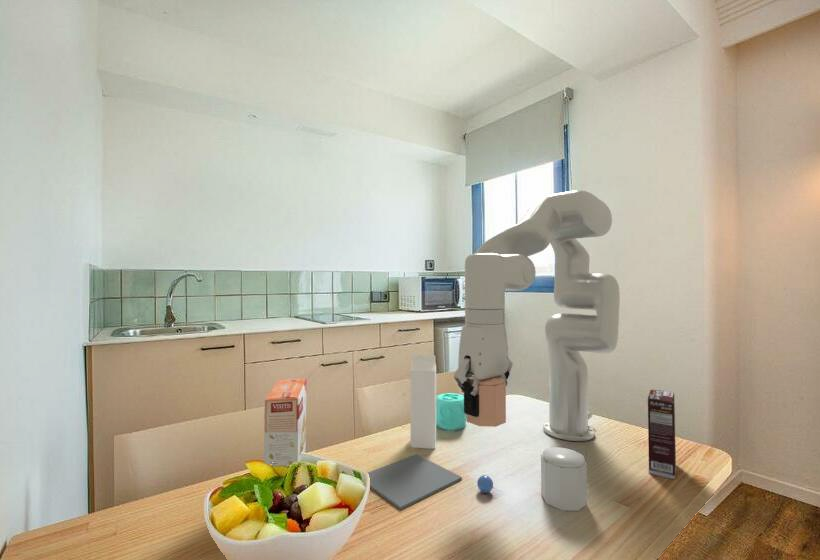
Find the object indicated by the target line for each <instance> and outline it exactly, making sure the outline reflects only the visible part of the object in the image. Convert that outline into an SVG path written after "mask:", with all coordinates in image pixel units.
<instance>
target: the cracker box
mask: <svg viewBox="0 0 820 560" xmlns="http://www.w3.org/2000/svg"><path fill="white" fill-rule="evenodd" d="M307 382H308V381H307V379H306V378H288V379H285V378H284V379H278V380H277V381H276V383H275V384H274V386H273V387H272V389H271V390H270V392H269V393H268V394H267V396H266V398H264V414H263V415H264V417H263V419H264V421H263V422H264V426H263V430H264V431H263V432H264V434H263V435H264V436H263V437H264V439H263V442H264V443H263V448H264V449H263V463H264V462H265V463H268V464H272V466H287V467H288V466H289V465H291V464H292V463H294V462H299V461H300V458H301V454H302V453H301V452H304V453H306V452H307V451H306V448H307V447H306V444H307V443H306V442H307V441H306V439H307V437H306V435H307V426H306V425H307ZM272 462H273V463H272Z"/></svg>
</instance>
